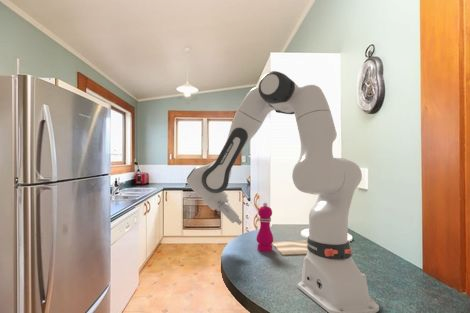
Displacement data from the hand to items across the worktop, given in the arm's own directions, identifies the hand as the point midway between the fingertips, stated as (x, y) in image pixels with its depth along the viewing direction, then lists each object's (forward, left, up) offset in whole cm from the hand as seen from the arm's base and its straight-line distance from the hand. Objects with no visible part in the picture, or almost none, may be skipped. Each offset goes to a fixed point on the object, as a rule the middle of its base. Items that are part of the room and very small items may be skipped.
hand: (240, 222), depth 107 cm
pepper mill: (0, -11, -12) cm, 16 cm away
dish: (+16, -48, -12) cm, 52 cm away
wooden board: (0, -26, -12) cm, 28 cm away
